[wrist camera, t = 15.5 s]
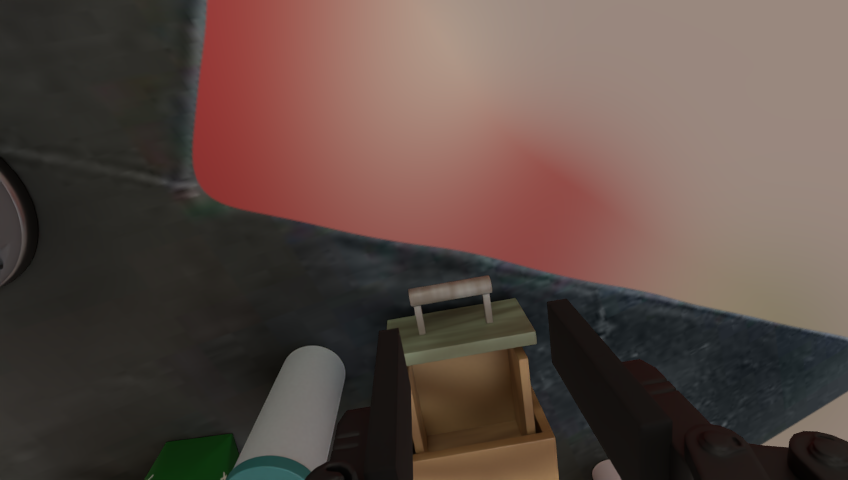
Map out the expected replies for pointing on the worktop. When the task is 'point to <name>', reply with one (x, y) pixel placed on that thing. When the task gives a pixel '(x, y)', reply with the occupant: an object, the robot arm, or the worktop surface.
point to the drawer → (466, 367)
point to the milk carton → (196, 459)
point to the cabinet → (495, 457)
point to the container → (295, 419)
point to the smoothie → (605, 471)
